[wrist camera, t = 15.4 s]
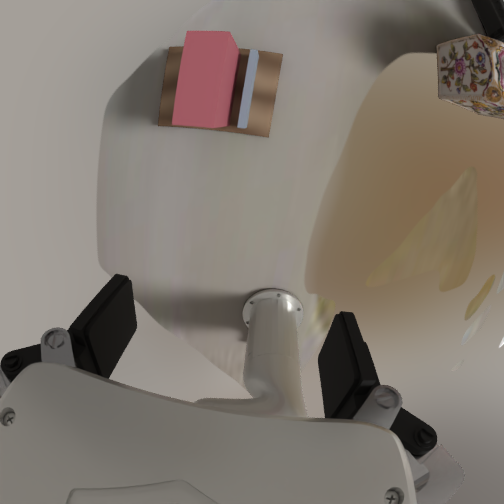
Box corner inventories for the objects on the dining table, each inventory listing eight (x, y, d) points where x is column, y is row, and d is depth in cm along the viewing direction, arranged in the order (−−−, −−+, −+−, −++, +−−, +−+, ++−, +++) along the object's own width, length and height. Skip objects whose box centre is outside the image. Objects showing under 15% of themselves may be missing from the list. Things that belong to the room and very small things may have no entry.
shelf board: (268, 136, 40) (268, 137, 39) (161, 125, 40) (157, 125, 39) (282, 56, 34) (282, 54, 32) (172, 48, 34) (169, 46, 32)
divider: (246, 127, 38) (244, 128, 35) (240, 126, 38) (237, 127, 35) (258, 56, 33) (257, 50, 29) (252, 55, 33) (250, 49, 29)
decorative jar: (434, 43, 28) (495, 27, 12) (477, 64, 27) (538, 61, 11) (436, 100, 34) (503, 103, 18) (478, 116, 33) (542, 129, 17)
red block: (229, 125, 38) (213, 128, 28) (198, 122, 38) (171, 124, 28) (241, 54, 33) (229, 31, 22) (209, 52, 33) (186, 31, 22)
